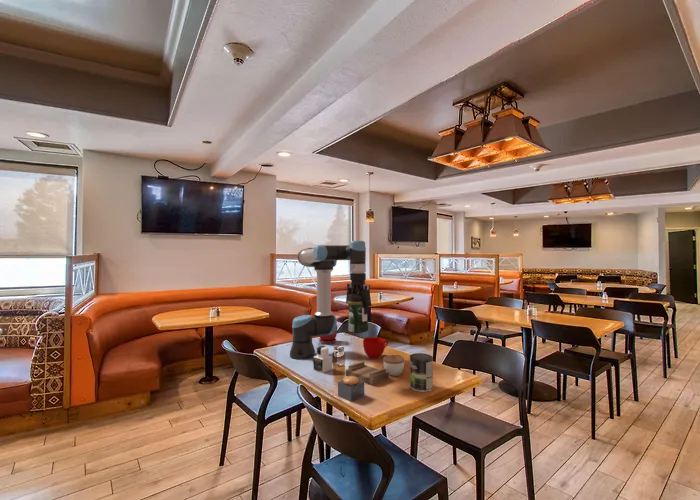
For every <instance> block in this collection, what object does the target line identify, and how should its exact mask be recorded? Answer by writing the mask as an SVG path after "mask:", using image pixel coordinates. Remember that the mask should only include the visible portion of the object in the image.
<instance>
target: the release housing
mask: <svg viewBox="0 0 700 500" xmlns="http://www.w3.org/2000/svg"><path fill="white" fill-rule="evenodd" d="M343 381H344V379H342V380H340V381H337V396H338V397H339V398H342V399H344V400H346V401H349V402H354V401H357V400H358V399H361V398H363V397H365V383H364V382H363V381H360V380H359V383H357V384H354V385H351V386H350V385H348V384H345V383H343Z"/></svg>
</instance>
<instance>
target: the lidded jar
mask: <svg viewBox="0 0 700 500" xmlns="http://www.w3.org/2000/svg"><path fill="white" fill-rule="evenodd" d="M382 360H383V362H382V363H383V368H385V369H386V372H388V373H389V376H392V377H393V376H394V377H395V376H400V375H401V373H402V372H403V371H404V368H405V357H403V356H400V355H396V354H391V355H390V354H389V355H385V356H383V359H382Z"/></svg>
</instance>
